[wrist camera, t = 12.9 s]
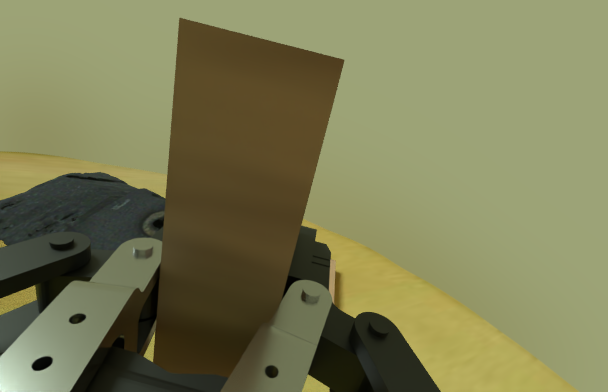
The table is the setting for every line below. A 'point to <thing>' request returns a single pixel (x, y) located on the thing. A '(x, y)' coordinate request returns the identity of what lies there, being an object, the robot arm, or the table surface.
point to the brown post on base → (235, 189)
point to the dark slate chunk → (83, 211)
